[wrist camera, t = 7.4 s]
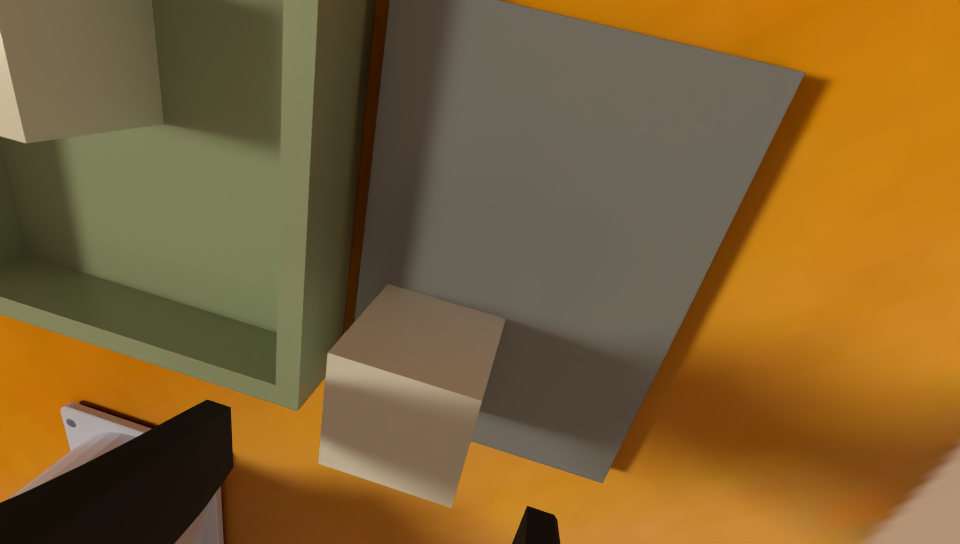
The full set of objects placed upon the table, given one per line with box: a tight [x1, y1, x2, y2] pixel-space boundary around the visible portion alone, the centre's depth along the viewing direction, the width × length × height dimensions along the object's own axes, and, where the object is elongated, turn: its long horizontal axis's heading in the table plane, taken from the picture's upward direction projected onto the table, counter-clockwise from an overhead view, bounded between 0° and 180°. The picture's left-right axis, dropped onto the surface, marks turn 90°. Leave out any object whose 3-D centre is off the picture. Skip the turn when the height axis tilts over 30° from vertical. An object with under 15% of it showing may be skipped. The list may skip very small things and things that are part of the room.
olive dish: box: [0, 0, 376, 411], centre depth 14 cm, size 14×14×3 cm
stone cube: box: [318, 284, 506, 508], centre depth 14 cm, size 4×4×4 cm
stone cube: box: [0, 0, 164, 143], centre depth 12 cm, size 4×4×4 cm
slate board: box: [354, 0, 805, 483], centre depth 14 cm, size 14×10×1 cm
